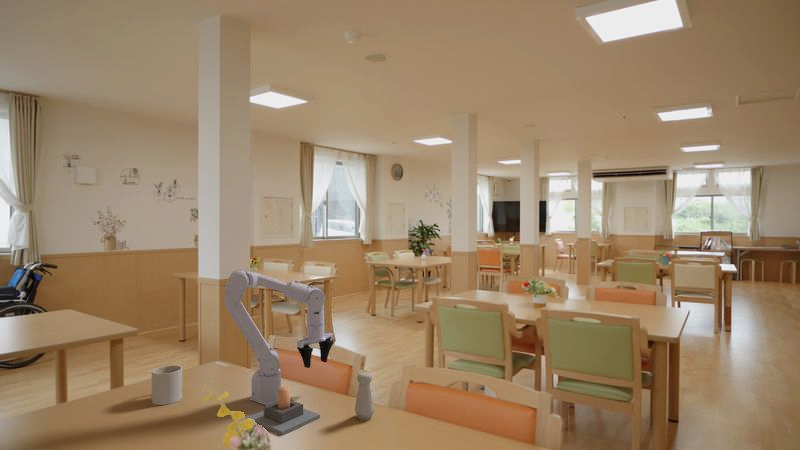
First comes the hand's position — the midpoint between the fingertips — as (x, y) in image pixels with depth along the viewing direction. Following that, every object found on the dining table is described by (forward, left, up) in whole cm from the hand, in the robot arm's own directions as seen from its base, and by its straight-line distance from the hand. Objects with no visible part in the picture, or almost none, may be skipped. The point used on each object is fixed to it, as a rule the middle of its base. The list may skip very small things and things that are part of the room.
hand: (315, 364), depth 153 cm
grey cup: (-37, -31, -10) cm, 49 cm away
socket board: (+6, -19, -10) cm, 23 cm away
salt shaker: (+25, -4, -10) cm, 27 cm away
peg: (+7, -19, -9) cm, 22 cm away
